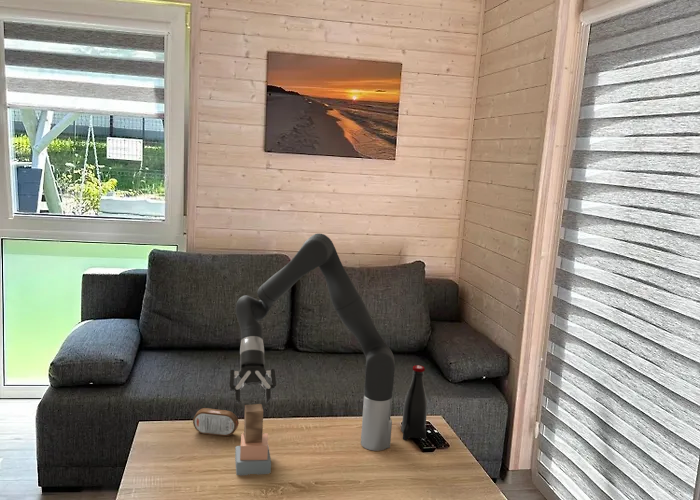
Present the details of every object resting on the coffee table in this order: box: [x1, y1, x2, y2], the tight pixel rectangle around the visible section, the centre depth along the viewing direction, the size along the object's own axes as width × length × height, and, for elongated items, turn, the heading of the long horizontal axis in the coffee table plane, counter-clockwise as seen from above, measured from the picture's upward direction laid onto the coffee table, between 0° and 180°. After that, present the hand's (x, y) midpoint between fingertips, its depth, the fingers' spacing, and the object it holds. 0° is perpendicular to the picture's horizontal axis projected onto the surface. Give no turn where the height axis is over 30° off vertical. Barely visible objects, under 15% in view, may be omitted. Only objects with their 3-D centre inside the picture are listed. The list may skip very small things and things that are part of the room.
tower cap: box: [240, 432, 269, 460], centre depth 188 cm, size 8×8×4 cm
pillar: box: [243, 403, 264, 443], centre depth 187 cm, size 5×5×10 cm
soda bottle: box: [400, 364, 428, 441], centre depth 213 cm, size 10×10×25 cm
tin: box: [192, 407, 239, 437], centre depth 207 cm, size 15×3×8 cm, turn 84°
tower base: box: [234, 445, 272, 476], centre depth 189 cm, size 10×10×4 cm
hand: (253, 402), depth 189 cm, fingers open, 8 cm apart
